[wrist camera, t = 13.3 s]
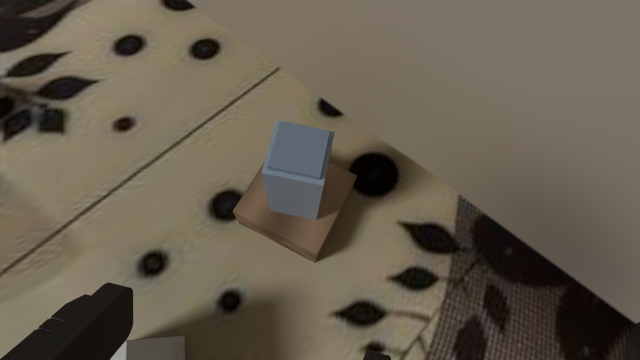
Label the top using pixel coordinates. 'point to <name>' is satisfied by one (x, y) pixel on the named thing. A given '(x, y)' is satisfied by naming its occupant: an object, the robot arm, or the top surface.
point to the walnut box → (292, 229)
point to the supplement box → (152, 349)
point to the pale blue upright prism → (296, 168)
